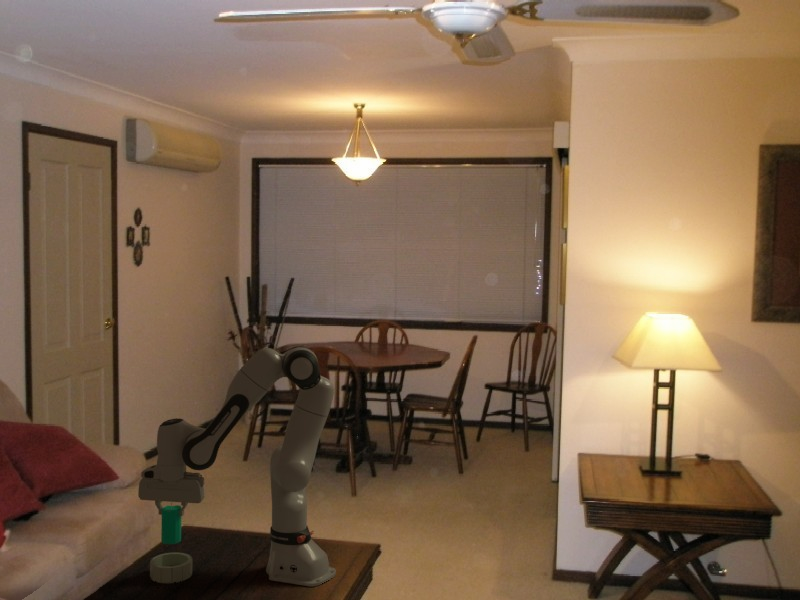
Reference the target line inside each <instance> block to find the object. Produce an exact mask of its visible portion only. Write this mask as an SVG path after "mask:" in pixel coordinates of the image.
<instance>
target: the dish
mask: <svg viewBox="0 0 800 600" xmlns="http://www.w3.org/2000/svg"><path fill="white" fill-rule="evenodd" d="M192 574H193V557H192V556H191V555H190V554H188V553H184V552H165V553H160V554H158V555H156V556H154V557H152V558H151V559H150V561H149V578H150V577H151V578H150V579H151V580H152V581H153V582H155V581H156V583H158V584H175V583H174V582H176V583H180V581H181V582H183V581H185V580H188V579H190V578H191V577H192Z"/></svg>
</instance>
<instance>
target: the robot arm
mask: <svg viewBox="0 0 800 600" xmlns="http://www.w3.org/2000/svg"><path fill="white" fill-rule="evenodd" d="M283 378H287V379H288V380H289V381H290V382H291V383H292V384H294V385H296V386H297V388H298V387H299V390H298V396H297V397H296V398H297V399H296V401H295V403H294V406H293V407H292V408H293V409H292V410H291V413H290V416H289V419H288V422H287V424H286V429H285V433H284V437H283V442H282V444H281V445H280V446H277V447H276V448H275V449H274V450H273V452H272V454H271V457H270V462H269V463H270V464H269V467H270V468H269V469H270V470H269V471H270V472H269V473H270V489H271V492H270V493H271V495H270V496H271V526H270V528H269V530H270V531H269V539H270V550H269V558H268V562H267V565H266V568H265V572H266V574H267V575H268V580H270V581H274V582H281V583H286V584H293V585H299V586H306V587H310V588H311V587H317V586H320V585H322V583H323V584H325V583H326V581H327V582H328V580H329V581H330V580H331V578H332V579H333V578H334V577H335V576H336V573H337V569H336V568H334V567H331V566H330V563H329V558H328V557H329V556H328V554H327V553H326V552H325V551H324V550H323V548H321V547H320V546H319V545H318V544H317V543H316V542H315V541H314V540H313V539H312V535H314V534H315V533H314V530H311V531H310V529H309V526H308V525H307V524H308V523H307V521H308V517H307V515H308V513H307V512H308V499H307V491H306V488H307V487H308V485H309V483H310V479H311V475H312V474H311V473H312V470H313V466H314V462H315V459H316V454H317V450H318V445H319V442H320V438H321V435H322V433H323V429H324V427H325V425H326V422H327V419H328V416H329V414H330V411H331V407H332V404H333V400H334V394H335V386H334V383H333V382H332V381H331V380H330V379H328V378H327V377H326V376H325V377H324V376H322V375H321V371H320V364H319V360H318V358H317V356H316V354H315V352H313V350H311V349H309V348H308V347H305V346H294V347H291V348H288V349H286V350H283V351H281V352H278V351H277V350H275V349H273V348H270V347H263V348H262V347H261V349H259V350H258V351H257V352H256V353H254V354H253V355H252V356H251V357H250V358H249V359H248V360H247V361H246V362H245V363H244V364H243V365H242V366H241V367H240V369H239V370H238V372H237V373H236V374H235V376H234V377H233V378H232V380H231V382H230V384H229V386H228V388H227V392H226V396H225V398H224V399H225V400H224V401H223V402H224V403H223V405H222V407H221V408H220V410H219V411H218V413H217V414H216V416H215V417H214V418H213V419H212V420H211V422H210V423H209V424H208V425H207V427H206V428H205V427H200V426H196V425H193V424H191V423H189V422H188V421H186V420H184V418H177V417H176V418H170V419H167V420H164V421H163V422H162V423H161V424H159V427H158V429H157V433H156V434H157V435H156V452H157V460H156V464H153V465H150V466H148V467H146V468H145V469H143V470H142V471H141V473H140V476H141V479H140V481H139V482H138V483H139V485H138V489H137V490H138V493H137V494H138V498H139V500H140V501H154V504H155V507H156V508H157V509H158V515H159V516H162V508H163V507H164V506H163V505H162V502H171V503H180V506H181V510H180V511H179V516H181V517H183V516H184V515H185V509H186V508H187V506H188V504H200V503H201V502H203V500H204V499H205V489H204V485H205V477H204V476H203V475H202V474H201V473H200V472H191V471H190V472H189V471H187V467H188V468H189V469H191V470H194V471H203V470H207V469H209V468H210V467H211V466H212V465H214V463H215V461H216V459H217V458H218V457H217V456H218V452H219V449H220V447H221V444H223V442H224V440H225V439H226V438H227V436H228V435H229V434H230V433H231V431H232V430H233V429H234V428H235V426H236V425H237V424H238V423H239V421H240V420H241V419H242V418H243V417H244V416H245V415H246V414H247V413H248V412H249V411H250V410H251V409H252V408H253V407H254V406H255V405H257V404H258V402H259V401H260V400H262V398H263V397H264V396H265V395H266V394H267V393H268V392H269V390H270V389H271V388H272V386H273V385H274V384H275V383H277V381H279V380H280V379H283ZM164 509H165V508H164ZM164 509H163V510H164ZM324 582H325V583H324Z"/></svg>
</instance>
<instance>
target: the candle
mask: <svg viewBox="0 0 800 600" xmlns="http://www.w3.org/2000/svg"><path fill="white" fill-rule="evenodd" d="M170 504H171V505H165V506H162V507H163V508H162V515H161V543H163V544H165V545H175V544H178V543H180V542H182V516H179V511H180V510H181V508H182V506H181V505H179V504H178V505H173V502H171V503H170ZM164 508H165V509H164ZM163 509H164V510H163Z"/></svg>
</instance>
